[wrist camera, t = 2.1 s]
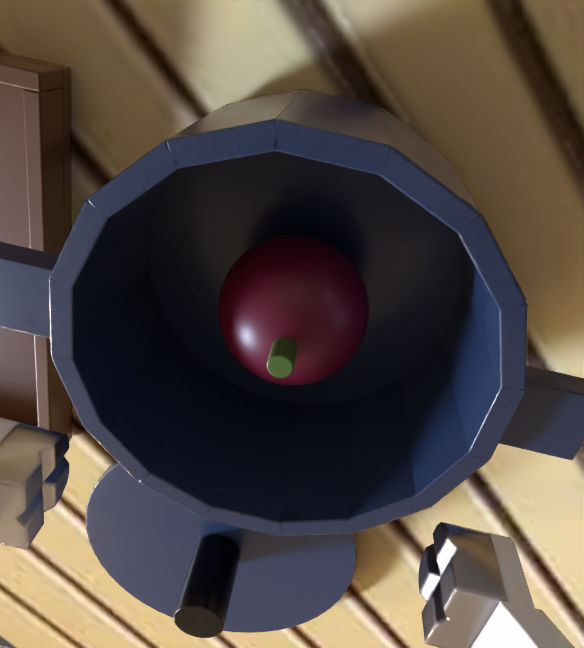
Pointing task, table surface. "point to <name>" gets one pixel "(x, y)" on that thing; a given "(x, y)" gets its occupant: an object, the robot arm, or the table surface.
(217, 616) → the lid
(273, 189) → the pot
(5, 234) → the tray
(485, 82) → the table surface
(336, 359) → the beet
